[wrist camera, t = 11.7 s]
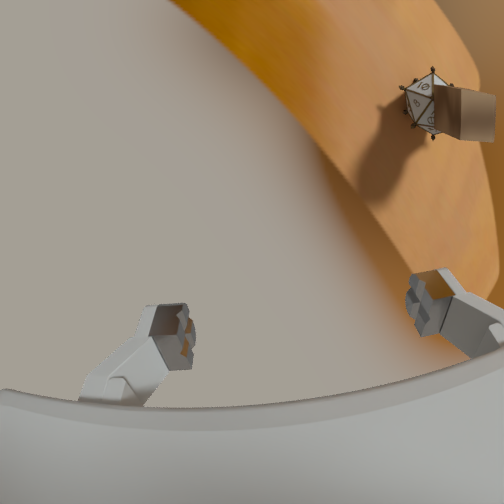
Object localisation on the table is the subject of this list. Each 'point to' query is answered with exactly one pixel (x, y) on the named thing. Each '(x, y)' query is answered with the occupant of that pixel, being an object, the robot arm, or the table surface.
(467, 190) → the table surface
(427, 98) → the game die
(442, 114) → the walnut cube
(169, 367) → the robot arm
